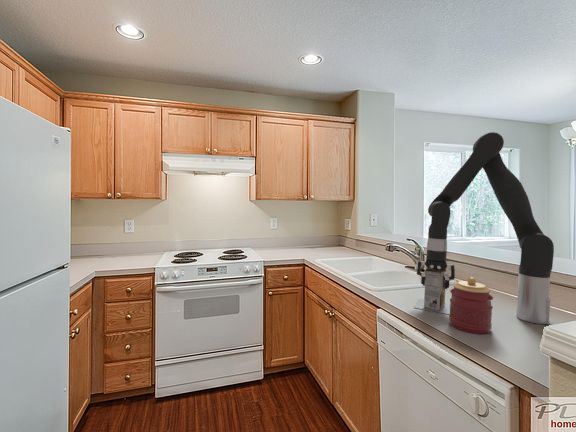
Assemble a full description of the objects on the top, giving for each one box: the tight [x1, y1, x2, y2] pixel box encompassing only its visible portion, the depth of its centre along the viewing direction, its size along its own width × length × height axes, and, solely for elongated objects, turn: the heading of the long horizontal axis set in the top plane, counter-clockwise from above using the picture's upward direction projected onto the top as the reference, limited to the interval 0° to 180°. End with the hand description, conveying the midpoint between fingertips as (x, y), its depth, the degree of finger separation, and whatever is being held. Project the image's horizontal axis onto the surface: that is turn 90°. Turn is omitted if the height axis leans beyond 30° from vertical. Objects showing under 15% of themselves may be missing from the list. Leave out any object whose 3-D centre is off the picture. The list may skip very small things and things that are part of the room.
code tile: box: [413, 298, 450, 315], centre depth 125 cm, size 14×14×1 cm
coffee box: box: [423, 267, 447, 310], centre depth 125 cm, size 9×6×16 cm
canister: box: [448, 277, 494, 335], centre depth 105 cm, size 13×13×18 cm
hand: (434, 287), depth 125 cm, fingers open, 8 cm apart
